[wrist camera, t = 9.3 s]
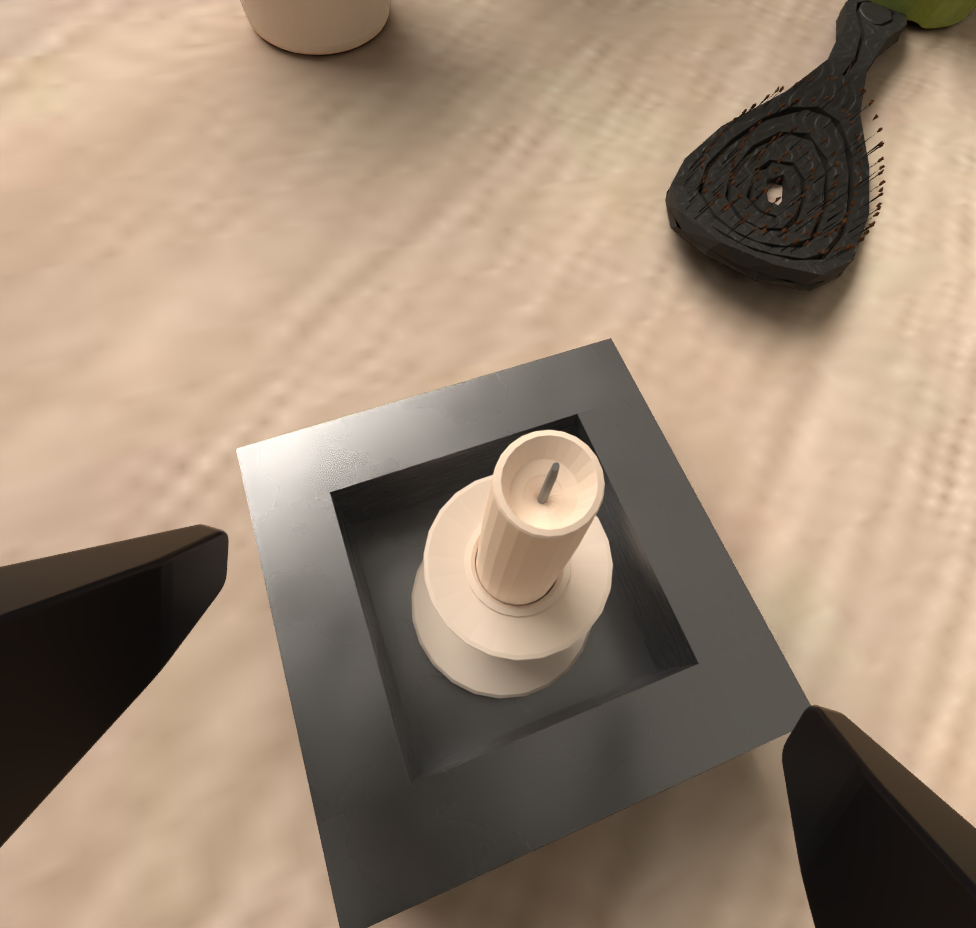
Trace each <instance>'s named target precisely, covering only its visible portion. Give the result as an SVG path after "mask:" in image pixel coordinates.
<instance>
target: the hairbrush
mask: <svg viewBox="0 0 976 928" xmlns="http://www.w3.org/2000/svg"><path fill="white" fill-rule="evenodd" d="M906 25H907V19H906V15H905V14H902V13H899V12H897V11H894V10H892V9H887V8H886V7H884V6H881V5H879V4H876V3H873V2H872V1H869V0H848V1H847V2H846V3H845V5H844V6H843V8H842V10H841V12H840V15H839V17H838V19H837V20H836V43H835V45H834V47H833V49H832V51H831V53H830V56H829V58H828V60H826V61H825V62H824V63H822V64H821V65H820V66H818V67H817V68H816V69H815V70H813V71H812V72H811V73H809V74H808V75H807V76H805V77H804V78H803V79H802V80H800V81H799V82H797V83H795V85H794V86H792V87H791V88H790V89H789V90H787V91H786V92H784V93H782V94H780V95H778V96H776V95H777V94H778V93H777V94H776V95H775V96H776V97H775V96H774V97H775V98H774V97H773V98H772V99H771V100H769V101H767V102H765V103H764V104H762V103H763V102H764V101H765V100H766V99H767V98H769V95H767V96H766V98H765V99H764V100H763V101H762V102H761V104H762V105H761V104H760V105H759V106H758V107H756V108H754V107H755V106H756V103H755V104H753V105H752V107H751V108H750V110H749V111H748V112H747V113H745V112H746V111H747V109H745V110H744V111H743V112H742V114H741V115H740V116H739V117H738V118H734V119H733V120H732V121H730V122H729V123H727V124H725V125H723V126H721V127H720V128H719V129H718V130H717V131H716V132H715V133H713V134H712V135H711V136H710V137H709V138H708V139H707V140H706V141H704V142H703V143H702V144H701V145H700V146H699V147H698V148H697V149H695V150H694V151H693V152H692V153H691V154H690V155H689V156H688V157H686V158H685V160H684V162H683V163H682V165H681V167H680V169H679V171H678V173H677V175H676V176H675V178H674V180H673V182H672V184H671V186H670V188H669V190H668V191H667V195H666V205H667V211H668V216H669V221H670V226H671V228H672V229H673V230H674V231H675V232H677V233H678V234H679V235H680V236H682V237H683V238H684V239H685V240H687V241H688V242H689V243H690V244H692V245H693V246H694V247H695V248H697V249H698V250H699V251H700V252H702V253H703V254H704V255H706V256H708V257H710V258H712V259H714V260H716V261H718V262H720V263H722V264H724V265H726V266H728V267H730V268H732V269H734V270H736V271H738V272H740V273H742V274H744V275H746V276H748V277H749V278H751V279H753V280H756V281H761V282H766V283H771V284H776V285H781V286H786V287H791V288H796V289H801V290H806V291H812V290H814V289H816V288H818V287H820V286H822V285H823V284H825V283H827V282H829V281H831V280H833V279H835V278H837V277H839V276H841V275H842V273H843V271H844V270H845V268H846V267H847V266H848V265H849V264H850V263H851V262H852V261H853V259H854V256H855V253H856V250H857V247H858V244H859V242H861V241H863V240H864V237H865V236H863V237H861V235H862V233H863V231H865V230H867V229H868V228H870V227H873V226H874V224H875V221H874V222H873V223H871V224H869V227H868V228H865V230H864V227H865V224H866V221H868V220H867V218H868V215H870V214H871V213H870V214H869V212H870V211H869V203H870V202H872V201H873V200H875V199H876V198H878V197H879V196H882V195H883V192H882V191H883V187H882V188H881V189H880V190H879V192H882V193H880V194H878V196H877V197H876V198H874V199H873V200H871V201H870V202H869V177H870V176H871V175H870V176H869V163H868V157H867V156H868V155H869V154H868V153H869V152H870V151H872V150H873V149H875V148H876V147H877V146H879V147H877V148H876V149H878V148H880V147H882V146H883V144H884V143H882V142H883V141H882V142H880V143H879V144H878V145H877V146H875V147H874V148H873V149H872V150H870V151H869V152H868V153H867V151H866V146H865V142H866V141H867V140H868V139H867V140H866V141H865V140H864V135H863V129H862V123H861V118H860V112H861V111H860V110H861V104H862V97H863V94H864V93H865V92H866V89H865V90H864V85H865V78H866V72H867V71H868V69H869V68H870V66H871V65H872V63H873V62H874V60H875V59H876V57H877V56H878V55H880V54H881V53H882V52H884V51H885V50H886V49H888V48H889V47H890V46H892V45H893V44H894V43H896V42H897V41H898V38H899V36H900V34H901V33H902V31H903V30H904V28H905V26H906ZM853 59H854V60H853ZM852 61H853V63H852V66H851V70H850V71H849V73H848V74H847V75H846V76H845V74H846V73H847V70H848V68H849V66H850V64H851V62H852ZM783 88H784V86H783V87H781V89H780V90H779V87H778V88H777V89H776V91H775V93H776V92H777V91H778V90H779V92H781V91H782V90H783ZM873 102H874V100H871V102H870V103H869V106H870V105H871V104H872V103H873ZM753 108H754V109H753ZM865 108H866V107H865ZM865 108H864V109H865ZM752 109H753V110H752ZM876 118H878V115H875V117H874V119H876ZM874 119H873V120H874ZM873 120H872V121H873ZM881 130H882V128H879V130H878V131H877V132H880V131H881ZM875 134H876V133H875ZM871 137H872V136H871ZM871 137H870V138H871ZM730 145H731V146H730ZM729 146H730V147H729ZM727 147H729V148H728V150H727V151H726V152H725V153H724V154H723V155H722V156H721V157H720V158H719V159H718V160H717V161H716V162H715V163H714V164H713V165H712V166H711V167H710V169H709V171H708V173H707V175H704V176H703V174H704V172H705V171H706V169H707V168H708V167H709V165H710V164H711V163H712V162H713V161H714V160H715V158H716V157H718V156H719V155H720V154H721V153H722V152H723V151H724V150H725V149H726V148H727ZM876 149H875V150H876ZM875 150H873V151H875ZM753 151H754V152H753ZM873 151H872V152H873ZM751 152H753V153H752V154H751V156H750V157H749V158H748V160H747V161H746V162H745V164H744V165H743V166H742V168H741V169H740V170H739V172H738V173H737V175H736V176H735V177H734V176H733V177H732V175H733V174H734V172H733V171H734V170H735V168H736V167H737V166H738V164H739V163H740V162H741V161H742V159H744V158H745V157H746V156H748V155H749V154H750V153H751ZM872 152H871V153H872ZM871 153H870V154H871ZM867 154H868V155H867ZM882 160H884V159H883V157H882V158H880V159H879V160H878V161H877V163H878V162H880V161H882ZM875 164H876V163H875ZM875 164H874V165H875ZM871 167H872V166H871ZM871 167H870V168H871ZM884 167H885V166H884V165H883V166H881V167H880V169H879V170H881V169H882V168H884ZM764 169H766V170H765V171H764V172H763V173H762V175H761V176H760V177H758V178H757V180H756V181H755V182H754V183H753V185H752V187H751V191H750V194H749V195H748V198H747V197H746V194H747V191H748V188H749V186H750V183H751V181H752V178H753V177H754V176H755V174H757V173H758V172H759V171H760V170H764ZM883 171H884V169H883V170H882V171H881V172H879V173H878V175H880V174H882V173H883ZM876 172H877V171H876ZM873 174H874V173H873ZM873 174H872V175H873ZM878 175H876V176H878ZM702 176H703V178H702ZM876 176H875V177H876ZM705 177H706V178H705ZM729 177H732V178H730V179H729ZM875 177H874V178H875ZM733 178H734V179H733ZM701 179H702V180H701ZM728 179H729V180H730V181H731V180H732V179H733V180H732V181H731V183H730V186H729V188H728V189H727V184H728ZM872 179H873V178H872ZM872 179H871V180H872ZM701 181H703V182H702V183H701V184H700V182H701ZM769 183H774V184H780V185H782V187H783V191H782V202H781V203H780V204H779V205H776V204H774V203H771V202H768V198H767V191H768V189H769V188H770V187H769V188H768V189H767V185H768V184H769ZM883 183H885V181H884V180H883V181H882V182H881V183H880V184H879V186H881V185H882V184H883ZM699 184H700V185H699ZM774 184H773V185H774ZM701 185H702V186H701ZM700 186H701V189H700V192H698V188H699V187H700ZM877 187H878V186H877ZM877 187H876V188H877ZM726 189H727V190H728V193H727V199H726V197H725V194H726V191H727V190H726ZM823 189H824V201H823V202H824V203H823V205H822V197H823ZM873 190H874V189H873ZM870 192H871V191H870ZM700 194H701V195H700ZM847 195H848V200H847ZM780 198H781V197H779V198H776V199H775V200H776V201H775V202H777V201H778V200H779V199H780ZM800 199H801V204H800V207H799V211H798V214H797V215H798V216H797V217H796V218H797V219H796V220H795V224H794V225H792V226H791V227H790V228H788V229H787V230H786V228H787V226H788V224H789V223H790V221H791V220H792V218H793V217H794V215H795V213H796V210H797V207H798V205H799V202H800ZM881 204H882V203H878V205H877V206H876V207H878V208H877V209H876V210H875V211H877V210H880V208H881V206H880V205H881ZM822 206H823V207H822ZM821 207H822V210H821V212H820V213H819V211H820V209H821ZM876 207H875V208H876ZM872 210H873V209H872ZM873 212H874V211H873ZM873 212H872V213H873ZM845 213H846V214H845ZM879 213H880V212H877V213H876V214H875V215H873V217H874V216H878V214H879ZM819 215H820V218H819V221H818V222H817V223H818V224H817V225H816V226H817V227H816V228H815V230H814V232H815V233H813V235H812V237H813V239H812V238H811V240H810V242H809V241H808V240H809V237H810V234H811V232H812V229H813V227H814V224H815V221H816V219H817V217H818V216H819ZM844 216H845V218H844ZM843 218H844V220H843ZM870 219H871V218H870ZM841 223H842V224H841ZM840 226H843V227H842V231H841V235H840V236H839V239H838V241H837V243H836V245H835V246H834V247H833V249H832V250H831V251H830V252H829V254H828V255H827V256H826V257H825V258H824V260H819V259H820V258H821V257H822V255H823V254H826V253H827V252H828V251H829V249H827V248H828V247H829V246H830V244H831V243H832V242H833V240H834V239H835V238H836V236H837V234H838V231H839V229H840ZM868 233H869V230H867V231H866V232H864V235H866V234H868ZM806 241H807V242H806ZM822 259H823V258H822Z"/></svg>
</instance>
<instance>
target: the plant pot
mask: <svg viewBox="0 0 976 928" xmlns="http://www.w3.org/2000/svg"><path fill="white" fill-rule="evenodd" d="M869 1H872V2H873V3H876V4H879V5H881V6H884V7H886V8H887V9H892V10H894V11H897V12H899V13H902V14H905V15H906V19H907V20H910V21H914V22H916V23H918V24H919V25H920V26H921V27H922V28H929V29H933V28H940V27H946V26H950V25H954V24H956V23H958V22H960V21H962V20H963V19H964V18H966V17H967V16H968V15H969V14H970V13H971V12H972V11H973V10H974V8H975V7H976V0H869Z"/></svg>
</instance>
